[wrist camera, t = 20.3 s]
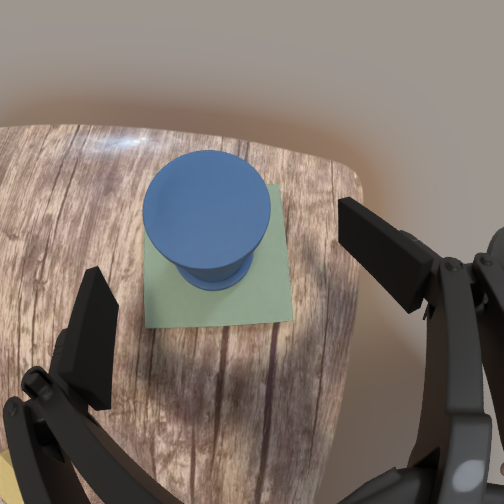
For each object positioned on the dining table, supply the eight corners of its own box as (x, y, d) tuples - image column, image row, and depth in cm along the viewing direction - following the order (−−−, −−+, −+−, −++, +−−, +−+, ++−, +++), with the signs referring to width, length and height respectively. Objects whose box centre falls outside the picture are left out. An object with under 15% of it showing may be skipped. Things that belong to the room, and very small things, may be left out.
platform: (24, 440, 17) (-2, 453, 12) (80, 490, 17) (60, 511, 12) (12, 474, 15) (-10, 487, 11) (62, 518, 15) (45, 537, 10)
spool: (249, 213, 25) (265, 148, 15) (255, 288, 23) (277, 265, 13) (174, 217, 24) (147, 154, 14) (175, 292, 22) (140, 272, 13)
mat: (278, 186, 26) (279, 183, 25) (291, 320, 23) (293, 320, 23) (148, 193, 25) (146, 190, 24) (147, 328, 22) (145, 328, 22)
